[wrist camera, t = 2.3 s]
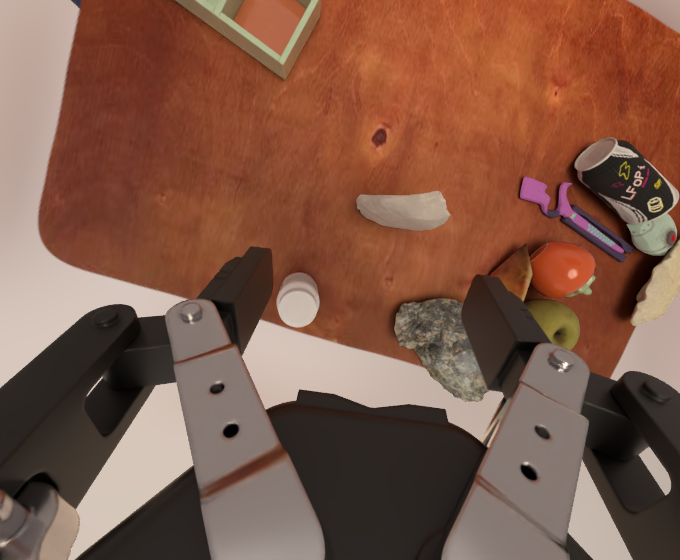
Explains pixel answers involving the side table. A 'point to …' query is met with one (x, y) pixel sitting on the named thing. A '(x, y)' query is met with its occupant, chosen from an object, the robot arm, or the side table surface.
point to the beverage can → (625, 181)
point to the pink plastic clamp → (575, 218)
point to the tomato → (562, 270)
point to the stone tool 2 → (659, 288)
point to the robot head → (654, 235)
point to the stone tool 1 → (405, 210)
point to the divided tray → (262, 26)
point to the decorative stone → (516, 272)
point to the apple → (556, 321)
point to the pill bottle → (298, 299)
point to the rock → (442, 345)
